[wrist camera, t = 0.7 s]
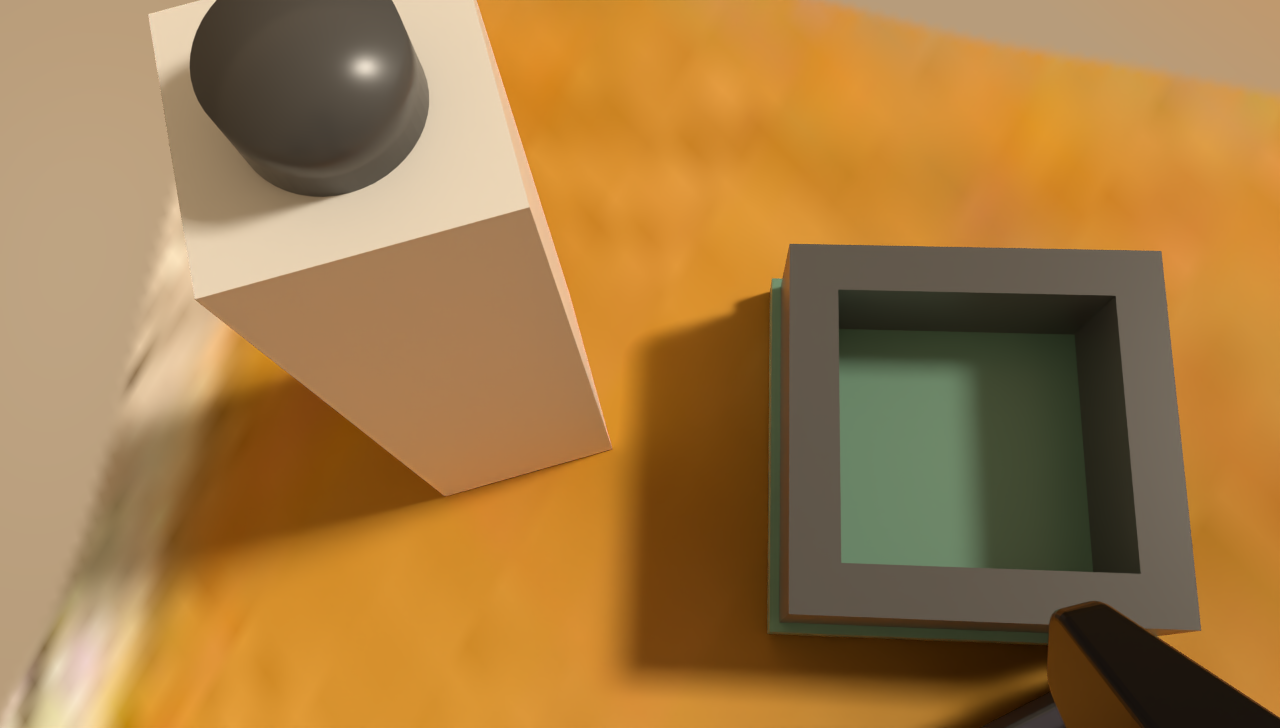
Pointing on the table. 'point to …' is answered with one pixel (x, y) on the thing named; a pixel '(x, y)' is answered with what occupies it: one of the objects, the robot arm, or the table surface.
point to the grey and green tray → (973, 444)
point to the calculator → (1031, 716)
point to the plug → (378, 226)
